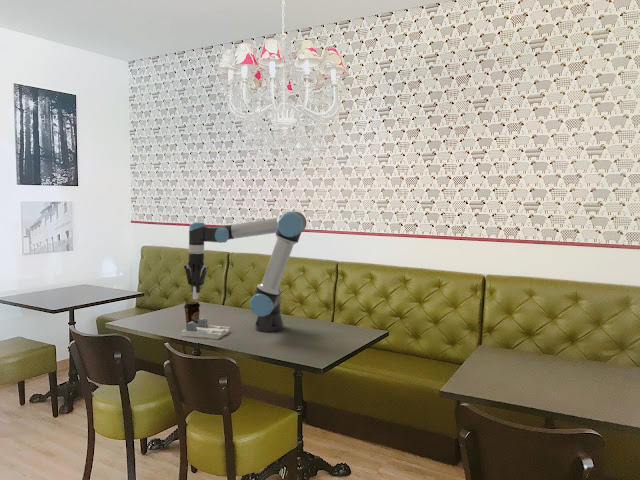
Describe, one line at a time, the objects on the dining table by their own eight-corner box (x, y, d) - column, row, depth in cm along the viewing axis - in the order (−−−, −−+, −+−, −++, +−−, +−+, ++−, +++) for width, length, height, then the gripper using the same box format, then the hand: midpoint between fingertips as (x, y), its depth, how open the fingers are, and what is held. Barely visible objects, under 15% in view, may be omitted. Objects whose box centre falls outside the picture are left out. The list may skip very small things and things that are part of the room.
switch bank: (230, 331, 257) (230, 326, 256) (217, 339, 243) (217, 333, 243) (195, 328, 262) (195, 323, 262) (181, 335, 249) (181, 330, 248)
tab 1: (196, 331, 251) (196, 321, 251) (193, 332, 248) (193, 322, 248) (189, 330, 252) (189, 320, 252) (186, 332, 249) (186, 322, 249)
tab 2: (207, 327, 258) (207, 318, 258) (204, 329, 256) (204, 319, 255) (200, 327, 259) (200, 317, 259) (197, 328, 257) (197, 318, 256)
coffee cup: (203, 324, 271) (202, 301, 270) (197, 328, 262) (197, 304, 261) (187, 324, 272) (187, 300, 270) (181, 328, 263) (181, 303, 262)
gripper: (211, 253, 253) (210, 298, 255) (189, 251, 257) (188, 296, 259) (204, 254, 246) (203, 301, 248) (180, 252, 249) (180, 298, 252)
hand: (195, 298), depth 253 cm, fingers closed
